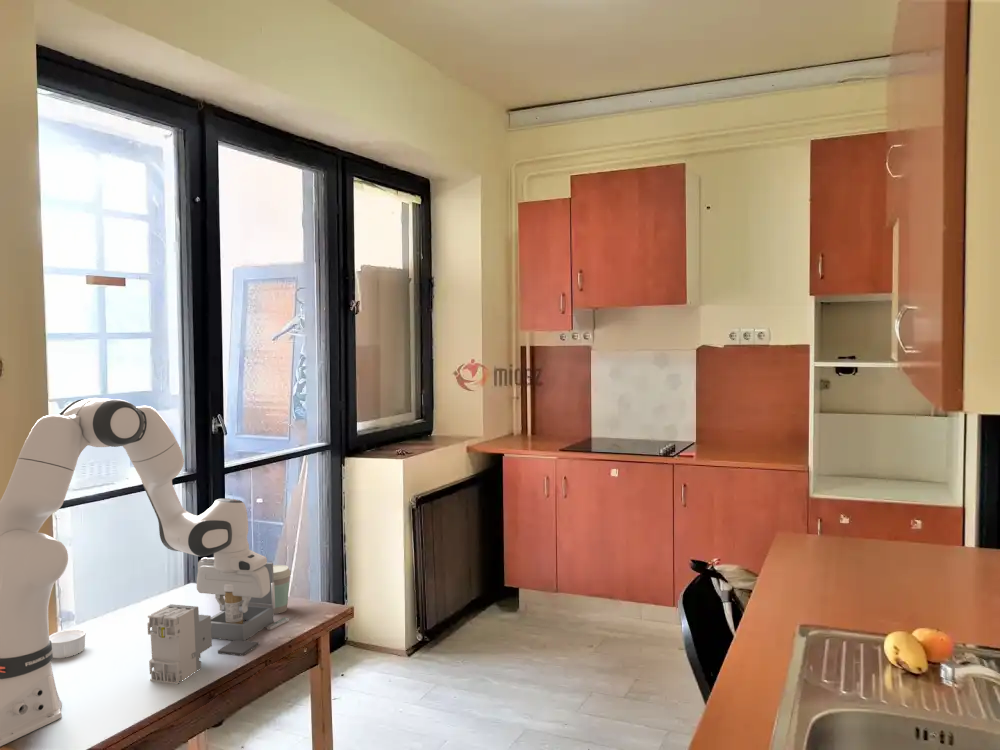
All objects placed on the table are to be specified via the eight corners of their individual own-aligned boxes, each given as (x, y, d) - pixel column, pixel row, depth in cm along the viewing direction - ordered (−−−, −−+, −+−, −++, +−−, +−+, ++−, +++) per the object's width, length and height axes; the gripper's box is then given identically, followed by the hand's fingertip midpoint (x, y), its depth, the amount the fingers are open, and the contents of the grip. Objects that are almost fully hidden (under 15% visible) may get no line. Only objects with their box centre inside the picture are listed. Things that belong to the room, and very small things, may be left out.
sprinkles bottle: (242, 627, 213) (240, 578, 212) (244, 633, 209) (242, 583, 208) (224, 630, 211) (222, 580, 210) (226, 636, 207) (224, 585, 206)
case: (247, 641, 203) (244, 580, 202) (203, 637, 207) (200, 576, 206) (278, 620, 217) (276, 563, 216) (236, 617, 221) (234, 560, 220)
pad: (242, 655, 194) (242, 653, 194) (217, 653, 196) (217, 650, 196) (258, 644, 201) (258, 642, 201) (234, 642, 203) (234, 639, 203)
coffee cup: (266, 605, 230) (265, 564, 229) (295, 605, 230) (294, 564, 229) (256, 615, 222) (254, 573, 221) (286, 615, 221) (285, 573, 221)
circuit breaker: (216, 658, 193) (214, 597, 192) (178, 684, 179) (175, 618, 179) (190, 655, 195) (187, 595, 194) (150, 680, 181) (147, 616, 181)
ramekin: (38, 660, 195) (37, 642, 194) (59, 645, 204) (58, 629, 203) (74, 659, 194) (73, 642, 194) (93, 645, 203) (92, 628, 203)
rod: (270, 631, 211) (270, 626, 211) (266, 630, 212) (266, 626, 211) (288, 622, 217) (288, 617, 217) (285, 621, 218) (284, 617, 218)
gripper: (190, 560, 209) (192, 612, 209) (258, 565, 203) (260, 618, 204) (205, 553, 215) (207, 604, 215) (272, 558, 209) (274, 609, 210)
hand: (233, 611), depth 210 cm, fingers closed on sprinkles bottle, 4 cm apart
